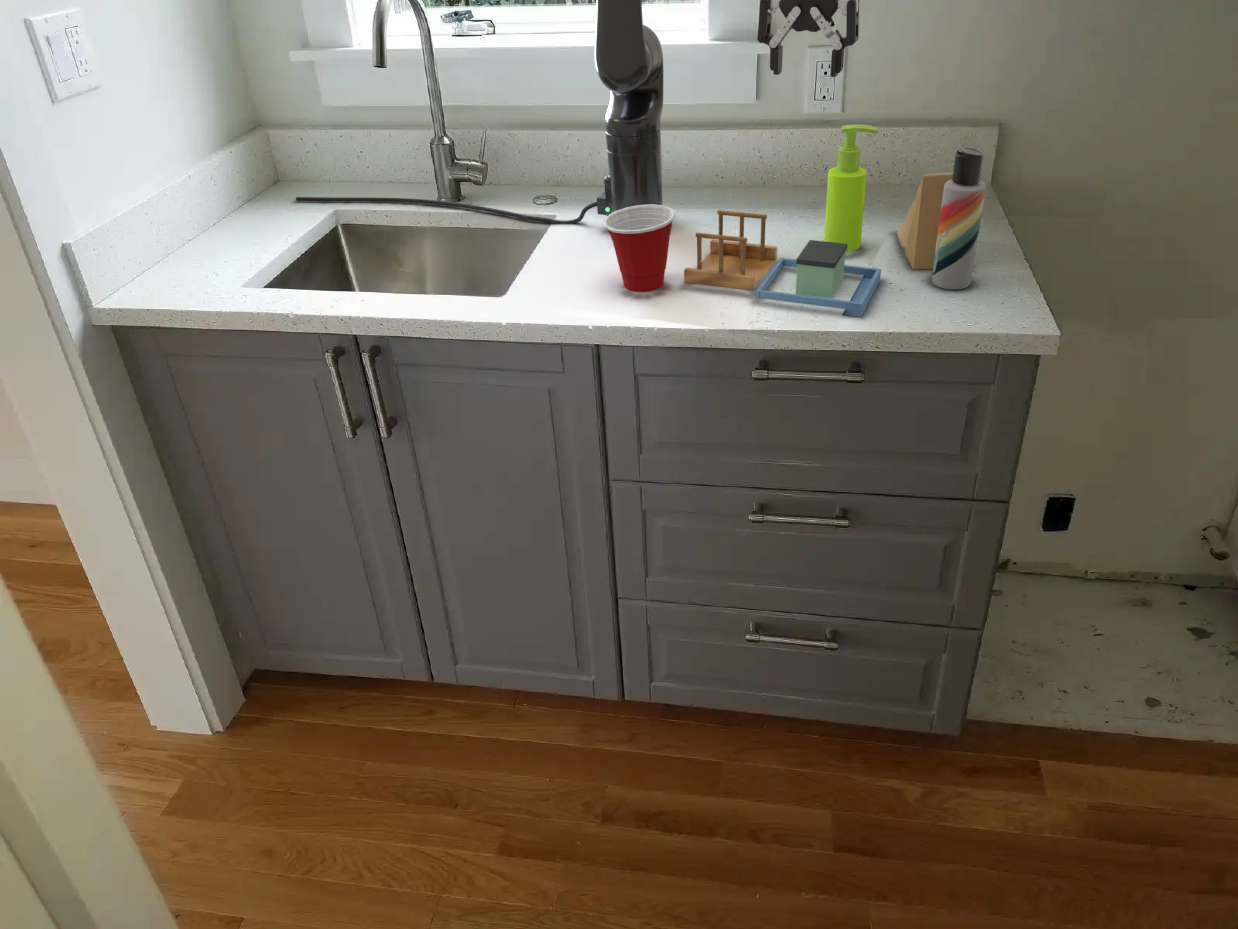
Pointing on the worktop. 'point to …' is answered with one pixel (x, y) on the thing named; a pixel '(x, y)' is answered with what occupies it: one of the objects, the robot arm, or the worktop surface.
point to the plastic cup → (641, 244)
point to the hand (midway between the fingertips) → (805, 74)
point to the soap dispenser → (846, 192)
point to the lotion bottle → (959, 222)
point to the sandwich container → (923, 221)
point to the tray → (851, 307)
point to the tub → (820, 268)
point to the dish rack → (732, 257)
